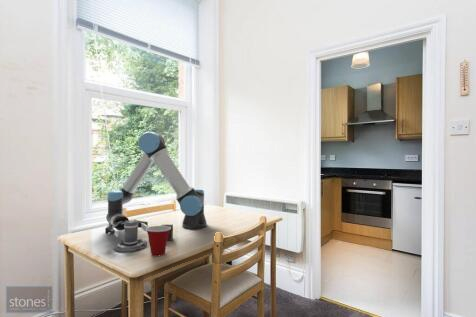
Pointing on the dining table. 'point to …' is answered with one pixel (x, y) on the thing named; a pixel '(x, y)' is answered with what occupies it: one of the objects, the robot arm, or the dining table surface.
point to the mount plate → (121, 248)
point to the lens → (130, 233)
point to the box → (169, 232)
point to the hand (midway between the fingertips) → (132, 231)
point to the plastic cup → (158, 239)
